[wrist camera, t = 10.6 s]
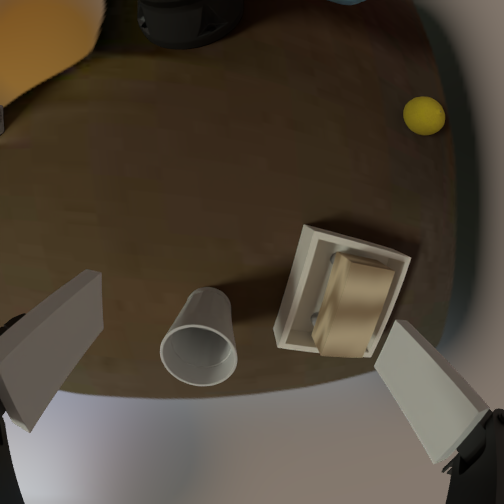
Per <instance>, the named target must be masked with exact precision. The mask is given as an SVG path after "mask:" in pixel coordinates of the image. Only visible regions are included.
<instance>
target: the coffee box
mask: <svg viewBox="0 0 504 504" xmlns="http://www.w3.org/2000/svg"><path fill="white" fill-rule="evenodd" d="M3 132H4V120H3V106H2V105H0V135H1V134H2V133H3Z"/></svg>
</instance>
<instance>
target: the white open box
mask: <svg viewBox="0 0 504 504" xmlns="http://www.w3.org/2000/svg"><path fill="white" fill-rule="evenodd" d="M337 251H338V252H342V253H347V254H352V255H357V256H361V257H366V258H371V259H376V260H378V261H379V262H381V263H383V264H384V265H386V266H387V267H389V268H391V269H392V270H394V271H395V273H394V276H393V279H392V282H391V285H390V288H389V291H388V294H387V297H386V300H385V303H384V305H383V308H382V311H381V313H380V316H379V319H378V321H377V324H376V326H375V329H374V331H373V334H372V336H371V339H370V341H369V343H368V346H367V348H366V350H365V352H364V355H363V357H371V356H372V354H373V352H374V350H375V348H376V346H377V344H378V341H379V339H380V337H381V335H382V333H383V330H384V328H385V326H386V324H387V321H388V319H389V317H390V314H391V312H392V309H393V307H394V304H395V302H396V299H397V297H398V294H399V292H400V289H401V286H402V284H403V281H404V278H405V275H406V272H407V269H408V266H409V263H410V260H411V257H409V256H407V255H405V254H403V253H401V252H399V251H396V250H394V249H392V248H388V247H385V246H382V245H378V244H375V243H371V242H368V241H364V240H361V239H357V238H354V237H350V236H346V235H343V234H339V233H335V232H332V231H328V230H324V229H321V228H317V227H313V226H309V225H305V224H304V226H303V229H302V233H301V237H300V240H299V244H298V247H297V251H296V255H295V258H294V262H293V265H292V269H291V272H290V275H289V279H288V282H287V286H286V289H285V292H284V296H283V299H282V302H281V305H280V309H279V312H278V315H277V318H276V322H275V325H274V328H273V330H274V334H275V338H276V343H277V347H278V348H284V349H291V350H299V351H307V352H315V353H319V351H318V349H317V346H316V344H315V342H314V340H313V338H312V336H311V335H312V332H313V329H314V326H315V323H316V320H317V317H318V314H319V310H320V307H321V304H322V301H323V298H324V294H325V291H326V288H327V284H328V281H329V277H330V274H331V270H332V267H333V263H334V260H335V256H336V252H337Z"/></svg>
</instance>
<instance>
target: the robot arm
mask: <svg viewBox="0 0 504 504" xmlns="http://www.w3.org/2000/svg"><path fill="white" fill-rule="evenodd" d="M328 1H332V2H335V3H339V4H342V5H354V4H358V3H360V2H363V1H366V0H328ZM243 6H244V0H138V24H139V27H140V29H141V30H142V32H143V33H144V35H145V36H146V38H147V39H148V40H150V41H151V42H152V43H154V44H156V45H158V46H161V47H164V48H169V49H190V48H196V47H200V46H204V45H207V44H210V43H212V42H214V41H216V40H218V39H220V38H222V37H224V36H225V35H227V34H228V33H229V32H230V31H232V30H233V29H234V28H235V26H236V25H237V24H238V23H239V21H240V19H241V17H242V14H243ZM103 329H104V328H103V312H102V273H101V272H97V271H93V270H89V269H86V270H84V271H83V272H82V273H80V274H79V275H77V276H76V277H75V278H73V279H72V280H70V281H69V282H68V283H66V284H65V285H64V286H62V287H61V288H59V289H58V290H57V291H55V292H54V293H53V294H51V295H50V296H49V297H48V298H46V299H45V300H44V301H42V302H41V303H40V304H38V305H37V306H36V307H35V308H33V309H32V310H31V311H30V312H28V313H27V314H25V313H23V314H21V315H18V316H16V317H14V318H12V319H11V320H9V321H8V322H7V323H6V324H4V327H1V328H0V504H25V503H24V501H23V498H22V495H21V492H20V489H19V486H18V482H17V479H16V476H15V472H14V468H13V464H12V460H11V455H10V451H9V445H8V440H7V434H6V428H5V422H4V420H3V418H2V415H3V414H4V413H5V411H6V412H7V413H8V415H9V417H10V419H11V420H12V422H13V423H14V424H16V425H17V426H19V427H21V428H22V429H24V430H26V431H27V432H29V433H31V431H32V429H33V428H34V426H35V424H36V423H37V421H38V420H39V418H40V417H41V415H42V414H43V412H44V410H45V409H46V407H47V406H48V404H49V403H50V401H51V400H52V398H53V397H54V395H55V394H56V393H57V391H58V390H59V388H60V387H61V385H62V384H63V382H64V381H65V380H66V378H67V377H68V375H69V374H70V373H71V371H72V370H73V368H74V367H75V366H76V364H77V363H78V361H79V360H80V359H81V357H82V356H83V355H84V353H85V352H86V351H87V349H88V348H89V347H90V345H91V344H92V343H93V341H94V340H95V339H96V338H97V336H98V335H99V334H100V332H101V331H102V330H103ZM374 367H375V369H376V370H377V372H378V373H379V375H380V376H381V378H382V379H383V381H384V383H385V384H386V386H387V388H388V389H389V391H390V392H391V394H392V395H393V397H394V399H395V400H396V402H397V403H398V405H399V407H400V408H401V410H402V412H403V413H404V415H405V417H406V418H407V420H408V422H409V423H410V425H411V426H412V428H413V430H414V431H415V433H416V435H417V437H418V438H419V440H420V442H421V443H422V445H423V446H424V448H425V450H426V452H427V454H428V456H429V457H430V459H431V461H432V463H433V464H436V463H438V462H441V461H443V460H446V459H447V458H448V457H449V456H450V455H451V454H452V453H453V452H454V451H455V450H456V449H457V451H458V452H459V453H458V454H457V455H456V456H455V457H454V458H453V459H452V460H451V461H450V462H449V463H448V464H447V465H446V466H445V467H444V468H443V470H442V472H443V473H444V472H445V471H446V470H447V469H448V468H449V467H452V468H451V469H450V470H449V471H448V472H447V474H450V475H451V479H450V485H449V490H448V495H447V500H446V504H504V410H503V409H495V410H494V411H493V412H492V411H491V410H490V409H489V406H488V405H487V404H486V403H485V402H484V401H483V399H482V398H481V397H480V396H479V395H478V394H477V393H476V392H475V390H474V389H473V388H472V387H471V386H470V385H469V384H468V383H467V382H466V380H465V379H464V378H463V377H462V376H461V375H460V374H459V373H458V372H457V371H456V370H455V369H454V368H453V367H452V365H450V363H449V362H448V361H447V360H446V359H445V358H444V357H443V356H442V355H441V354H440V353H439V352H438V351H437V350H436V349H435V348H434V347H433V346H432V345H431V344H430V343H429V342H428V341H427V340H426V339H425V338H424V337H423V336H422V335H421V334H420V333H419V332H418V331H417V330H416V329H415V328H414V327H413V326H412V325H411V324H410V323H409V322H408V321H406V320H395V322H394V324H393V326H392V329H391V331H390V333H389V336H388V338H387V340H386V342H385V344H384V347H383V349H382V351H381V353H380V355H379V357H378V359H377V361H376V363H375V365H374Z"/></svg>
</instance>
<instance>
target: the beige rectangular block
mask: <svg viewBox="0 0 504 504" xmlns="http://www.w3.org/2000/svg"><path fill="white" fill-rule="evenodd" d="M394 273H395V271H394V270H392V269H391V268H389V267H387V266H386V265H384V264H383V263H381V262H379V261H378V260H376V259H371V258H366V257H361V256H357V255H352V254H347V253H342V252H338V251H337V252H336V256H335V260H334V263H333V267H332V270H331V274H330V277H329V281H328V284H327V288H326V291H325V294H324V298H323V301H322V304H321V307H320V310H319V314H318V317H317V320H316V323H315V326H314V329H313V332H312V335H311V336H312V338H313V340H314V342H315V344H316V346H317V349H318V351H319V353H320V355H321V356H332V357H352V358H362V357H363V355H364V352H365V350H366V348H367V346H368V343H369V341H370V339H371V336H372V334H373V331H374V329H375V326H376V324H377V321H378V319H379V316H380V313H381V311H382V308H383V305H384V303H385V300H386V297H387V294H388V291H389V288H390V285H391V282H392V279H393V276H394Z"/></svg>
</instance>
